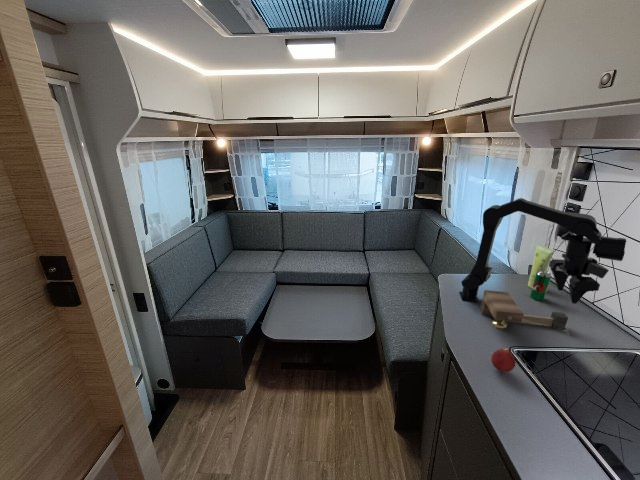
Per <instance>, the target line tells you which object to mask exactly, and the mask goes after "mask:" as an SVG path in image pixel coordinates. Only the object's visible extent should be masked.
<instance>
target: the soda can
mask: <svg viewBox="0 0 640 480" xmlns="http://www.w3.org/2000/svg"><path fill="white" fill-rule="evenodd" d="M551 279H552V272H550V271H549V270H547V271H545V270H538V272H537V273H536V275H535V279H534V282H533V285H532V288H531V290H530V293H529V297H530V298H532V299H533V300H536V301H543V300H545V299H546V295H547V292H548V290H549V289H548V288H549V286H550V282H551Z"/></svg>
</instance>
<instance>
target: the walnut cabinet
mask: <svg viewBox="0 0 640 480" xmlns="http://www.w3.org/2000/svg"><path fill="white" fill-rule="evenodd" d="M479 311H480V313H481V315H484V316H491V317H493V318H494V319H495V320H502V321H504V322H510V323H518V322H519V324H522V323H521V321H522V318H523V315H525V314H524V312H523V311H522V310H521V308H520V307H519V305H518V304H517V303H516V302H515V300H514V298H512V296H511V295H510V294H509V292H508V291H507V292H506V291H498V290H497V291H496V290H488V289H487V290H485V289H484V291H483V296H482V300H481V304H480V308H479ZM494 319H493V320H494Z"/></svg>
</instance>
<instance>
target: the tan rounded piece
mask: <svg viewBox="0 0 640 480" xmlns="http://www.w3.org/2000/svg"><path fill="white" fill-rule="evenodd" d="M492 324H493V325H492ZM491 325H492V326H493V327H494V328H495V327H496V328H495V329H497V328H498V330H501V329H504V330H506V329H507V326H508V323H507V321H502V320H495V319H493V320H492V323H491Z"/></svg>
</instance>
